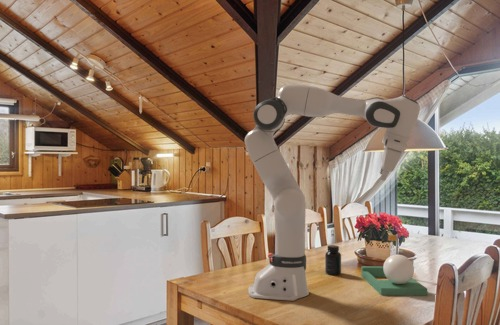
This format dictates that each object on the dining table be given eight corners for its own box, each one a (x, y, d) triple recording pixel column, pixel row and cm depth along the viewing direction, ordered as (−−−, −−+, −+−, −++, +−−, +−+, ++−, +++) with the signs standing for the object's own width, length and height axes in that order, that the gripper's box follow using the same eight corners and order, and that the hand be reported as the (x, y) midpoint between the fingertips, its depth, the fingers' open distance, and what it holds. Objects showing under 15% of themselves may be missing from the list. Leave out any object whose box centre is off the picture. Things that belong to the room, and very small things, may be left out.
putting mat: (381, 295, 150) (381, 246, 150) (361, 275, 176) (361, 233, 176) (427, 295, 150) (427, 246, 150) (400, 275, 176) (400, 234, 176)
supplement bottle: (331, 270, 183) (331, 243, 183) (344, 273, 178) (344, 246, 178) (322, 273, 178) (322, 246, 178) (335, 276, 174) (335, 248, 174)
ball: (388, 287, 150) (389, 258, 150) (379, 279, 161) (379, 251, 161) (418, 288, 150) (418, 258, 150) (406, 279, 161) (407, 251, 161)
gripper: (385, 135, 158) (373, 168, 161) (387, 143, 139) (373, 180, 142) (402, 140, 156) (389, 173, 160) (406, 148, 137) (391, 186, 141)
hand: (382, 176), depth 151 cm, fingers open, 8 cm apart
